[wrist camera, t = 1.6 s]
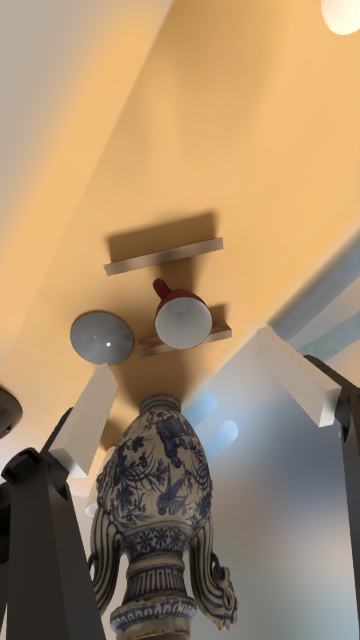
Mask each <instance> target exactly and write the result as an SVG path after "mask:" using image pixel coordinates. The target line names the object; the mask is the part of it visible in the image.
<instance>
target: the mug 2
mask: <svg viewBox="0 0 360 640" xmlns="http://www.w3.org/2000/svg"><path fill="white" fill-rule="evenodd" d="M320 5H321V11H322V15H323V18H324V21H325V23H326V25H327V26H328V27H329V29H330V30H331V31H333V32H334V33H336V34H340V35H347V34H350V33H352V32H355V31H356V30H358V29H359V28H360V0H320Z"/></svg>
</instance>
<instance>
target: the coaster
mask: <svg viewBox="0 0 360 640" xmlns="http://www.w3.org/2000/svg"><path fill="white" fill-rule="evenodd" d="M70 339H71V343H72V346H73V348H74V349H75V351H76V352H77V353H78V354H79V355H80V356H81V357H82V358H84V359H85V360H87V361H89V362H91V363H94V364H98V365H100V364H105V363H107V364H108V365H114V364H117V363H120V362H121V361H123V360H124V359H126V358H127V357H128V356H129V354H130V352H131V350H132V347H133V335H132V332H131V330H130V329H129V327H128V326H127V325H126V323H124V322H123V321H122V320H121V319H120V318H118V317H116V316H114V315H111V314H108V313H103V312H94V313H89V314H86V315H84V316H82V317H81V318H79V319H78V320H77V321H76V322H75V323H74V325H73V326H72V329H71V333H70Z"/></svg>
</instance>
